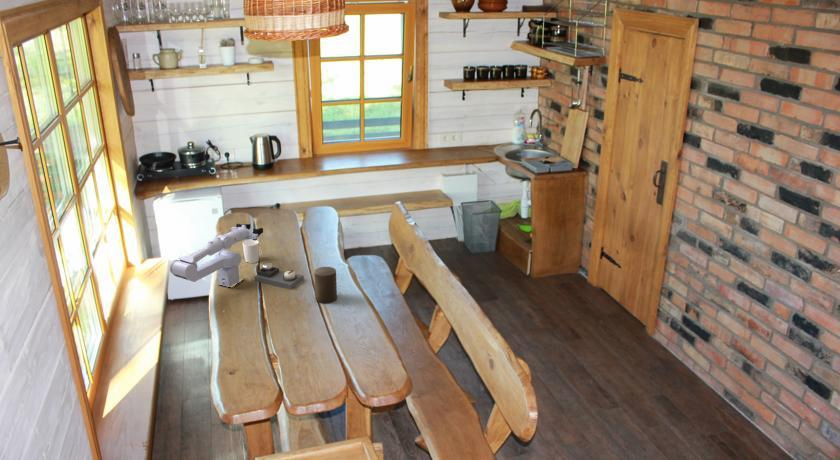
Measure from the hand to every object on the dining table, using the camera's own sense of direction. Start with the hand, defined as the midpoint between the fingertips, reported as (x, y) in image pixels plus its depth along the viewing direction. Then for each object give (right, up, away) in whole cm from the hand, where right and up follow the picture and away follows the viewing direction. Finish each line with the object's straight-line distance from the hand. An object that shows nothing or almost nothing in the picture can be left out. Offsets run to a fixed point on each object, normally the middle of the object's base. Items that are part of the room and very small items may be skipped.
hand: (256, 228), depth 339 cm
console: (+12, -25, -6) cm, 28 cm away
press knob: (+7, -19, -6) cm, 21 cm away
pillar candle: (+36, -32, -22) cm, 53 cm away
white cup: (-5, -16, +14) cm, 22 cm away
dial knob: (+18, -23, -9) cm, 30 cm away
